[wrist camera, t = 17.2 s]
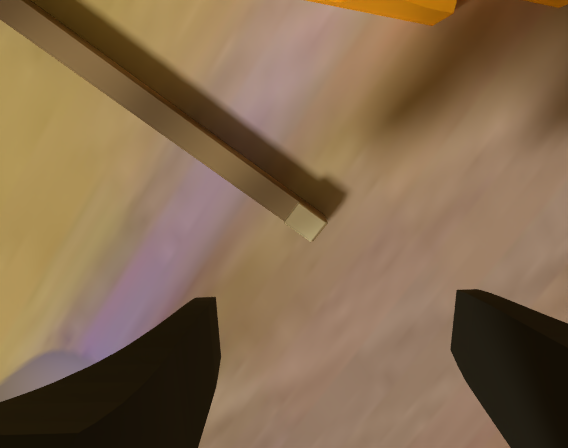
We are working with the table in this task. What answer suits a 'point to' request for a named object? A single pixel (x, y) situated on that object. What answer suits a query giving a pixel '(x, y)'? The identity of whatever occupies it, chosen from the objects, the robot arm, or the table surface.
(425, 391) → the table surface
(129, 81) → the guide rails
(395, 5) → the pipe clamp
